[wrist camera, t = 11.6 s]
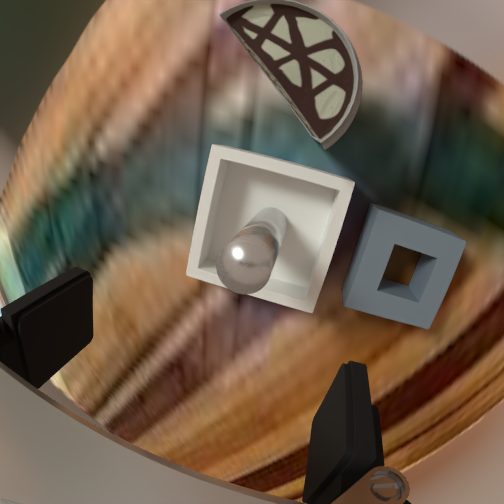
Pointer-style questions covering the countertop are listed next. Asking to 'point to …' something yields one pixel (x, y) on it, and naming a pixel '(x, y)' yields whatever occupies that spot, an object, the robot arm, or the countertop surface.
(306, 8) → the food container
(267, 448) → the countertop surface
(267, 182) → the parts tray
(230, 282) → the steel pin
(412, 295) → the block
